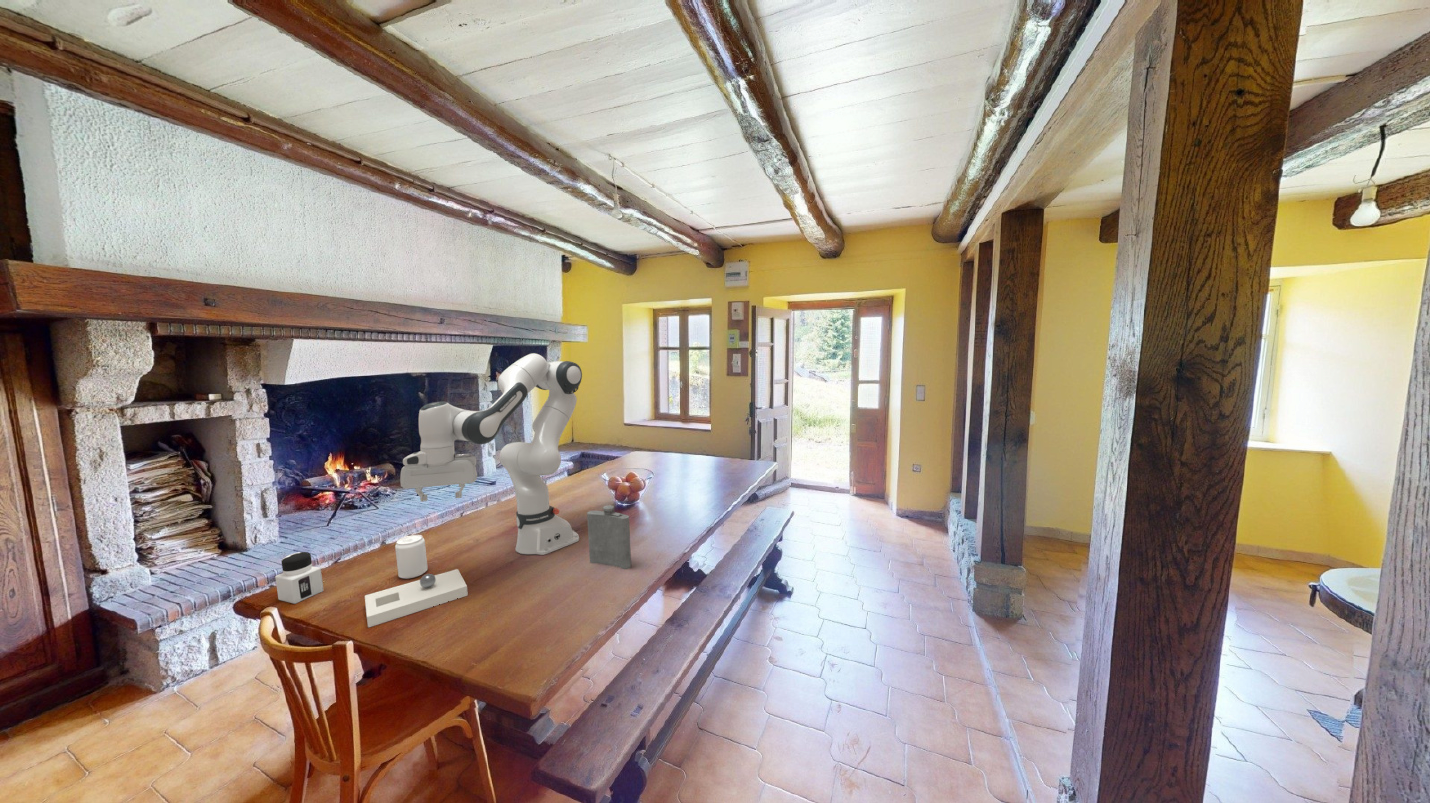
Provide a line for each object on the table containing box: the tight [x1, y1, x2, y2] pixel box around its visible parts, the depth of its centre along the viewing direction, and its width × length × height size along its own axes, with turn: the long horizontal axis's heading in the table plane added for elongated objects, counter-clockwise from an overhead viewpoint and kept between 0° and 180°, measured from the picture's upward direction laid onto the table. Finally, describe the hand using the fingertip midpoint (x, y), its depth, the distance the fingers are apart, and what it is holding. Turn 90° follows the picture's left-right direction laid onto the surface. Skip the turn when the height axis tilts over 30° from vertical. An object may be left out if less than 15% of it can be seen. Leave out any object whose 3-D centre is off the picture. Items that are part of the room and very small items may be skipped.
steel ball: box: [419, 573, 436, 588], centre depth 136 cm, size 4×4×4 cm
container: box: [274, 551, 324, 605], centre depth 138 cm, size 8×8×13 cm
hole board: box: [364, 568, 469, 628], centre depth 135 cm, size 24×14×3 cm, turn 129°
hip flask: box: [586, 504, 632, 570], centre depth 155 cm, size 16×4×20 cm, turn 69°
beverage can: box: [394, 534, 428, 579], centre depth 150 cm, size 8×8×12 cm
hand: (441, 499), depth 141 cm, fingers open, 8 cm apart
